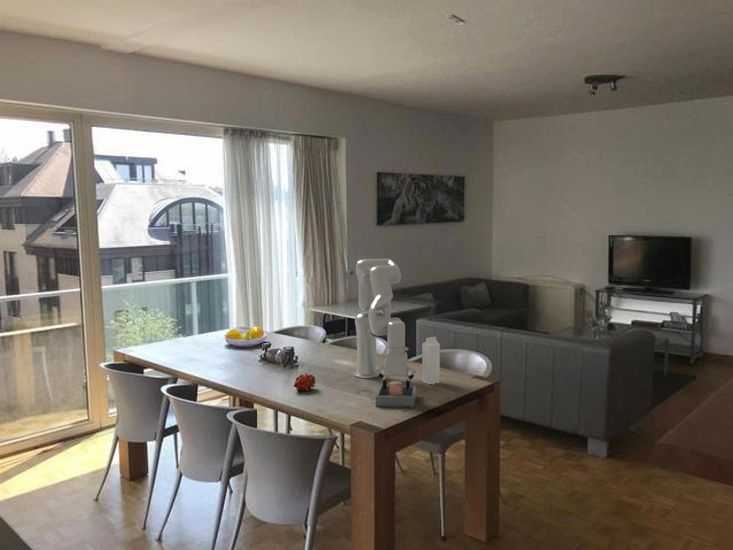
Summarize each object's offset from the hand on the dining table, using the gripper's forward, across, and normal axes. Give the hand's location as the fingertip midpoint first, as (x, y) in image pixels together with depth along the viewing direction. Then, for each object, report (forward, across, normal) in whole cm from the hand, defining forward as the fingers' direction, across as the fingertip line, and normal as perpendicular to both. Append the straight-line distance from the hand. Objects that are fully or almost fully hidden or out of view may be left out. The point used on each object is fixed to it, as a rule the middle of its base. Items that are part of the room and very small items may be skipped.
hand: (396, 388), depth 256 cm
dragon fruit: (+6, +43, -10) cm, 45 cm away
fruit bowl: (+6, +101, -95) cm, 139 cm away
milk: (+6, -14, -29) cm, 33 cm away
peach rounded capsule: (+5, 0, 0) cm, 5 cm away
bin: (+5, 0, 0) cm, 5 cm away
